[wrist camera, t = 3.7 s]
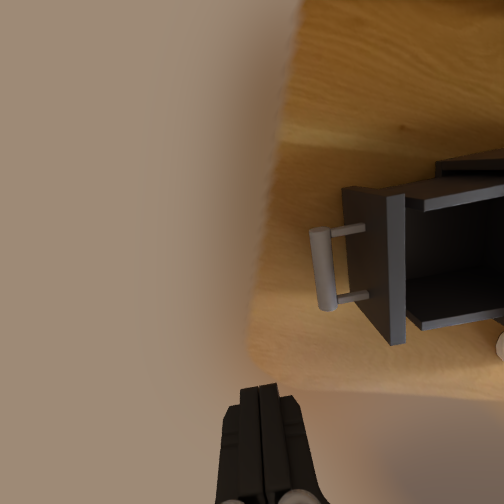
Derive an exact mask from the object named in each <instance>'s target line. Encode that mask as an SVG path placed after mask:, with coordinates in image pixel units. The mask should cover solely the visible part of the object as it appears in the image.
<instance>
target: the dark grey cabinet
mask: <svg viewBox="0 0 504 504" xmlns="http://www.w3.org/2000/svg"><path fill="white" fill-rule="evenodd" d="M473 170H504V148H500V149H495V150H490V151H485V152H480V153H475V154H470V155H465V156H460V157H455V158H450V159H446V160H441V161H436V171H435V178H438V177H443V176H448V175H453V174H458V173H463V172H468V171H473ZM492 319H493V320H495V321H497V322H498V323H500V324H502V325H503V326H504V316H503V317H497V318H492Z"/></svg>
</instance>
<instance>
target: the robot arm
mask: <svg viewBox="0 0 504 504" xmlns="http://www.w3.org/2000/svg"><path fill="white" fill-rule="evenodd" d="M215 504H330V503H329V502H328V501H327V500H326V499H325V497H324V496H323V494H322V492H321V490H320V488H319V486H318V482H317V478H316V474H315V470H314V466H313V461H312V457H311V452H310V448H309V444H308V439H307V436H306V431H305V426H304V422H303V418H302V413H301V409H300V406H299V404H298V403H297V402H296V400H295V399H294V397H293V396H292V395H291V396H285V397H280V396H279V392H278V387H277V383H273V384H267V385H261V386H259V387H258V386H256V387H250V388H245V389H241V390H240V404H239V405H233V406H229V408H228V410H227V412H226V415H225V417H224V419H223V427H222V437H221V449H220V459H219V470H218V480H217V491H216V500H215Z"/></svg>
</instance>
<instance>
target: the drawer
mask: <svg viewBox="0 0 504 504" xmlns="http://www.w3.org/2000/svg"><path fill="white" fill-rule="evenodd" d="M341 190H342V202H343V214H344V226H342V227H336V228H331V229H330V228H329V227H315V228H312V229H310V230H309V236H310V244H311V252H312V260H313V268H314V275H315V283H316V291H317V299H318V307H319V309H320V310H322V311H333V310H335V309H337V307H338V305H337V303H338V304H342V303H348V302H353V301H354V302H355V303H356V305H357V306H358V307H359V308H360V310H361V311H362V312H363V313H364V314H365V316H366V317H367V318H368V319H369V320H370V322H371V323H372V324H373V325H374V327H375V328H376V329H377V330H378V331H379V333H380V334H381V335H382V336H383V337H384V339H385V340H386V341H387V342H388V344H389V345H390V346H393V345H398V344H404V343H406V317H407V318H408V319H409V320H410V321H412V322H413V323H414V324H415V325H416V326H417V327H418V328H419V329H420V330H421V331H424V330H429V329H435V328H441V327H446V326H452V325H458V324H463V323H469V322H475V321H480V320H486V319H492V318H497V317H503V316H504V170H473V171H468V172H463V173H458V174H453V175H448V176H443V177H438V178H433V179H428V180H423V181H418V182H413V183H408V184H403V185H398V186H393V187H388V188H383V189H372V188H365V187H358V186H350V187H345V188H342V189H341ZM343 235H345V238H346V250H347V262H348V275H349V287H350V293H346V294H341V295H336V285H335V275H334V265H333V255H332V245H331V238H332V237H338V236H343Z"/></svg>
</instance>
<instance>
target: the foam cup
mask: <svg viewBox="0 0 504 504" xmlns="http://www.w3.org/2000/svg"><path fill="white" fill-rule="evenodd" d="M496 352H497V355H498V356H499V357H500V358H501V359H502V360H503V361H504V332H503V333H502V334H501V335H500V337H499V339H498V341H497V344H496Z"/></svg>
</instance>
